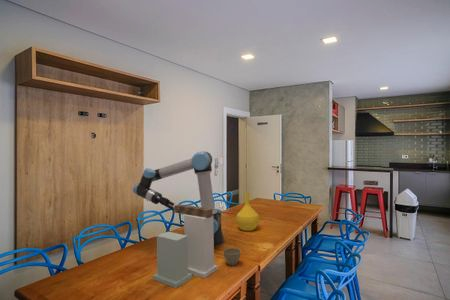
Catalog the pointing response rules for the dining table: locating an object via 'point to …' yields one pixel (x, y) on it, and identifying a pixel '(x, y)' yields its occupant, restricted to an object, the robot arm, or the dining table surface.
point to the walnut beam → (194, 211)
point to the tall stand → (200, 245)
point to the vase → (247, 217)
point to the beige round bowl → (232, 255)
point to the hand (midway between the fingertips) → (180, 210)
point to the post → (172, 259)
